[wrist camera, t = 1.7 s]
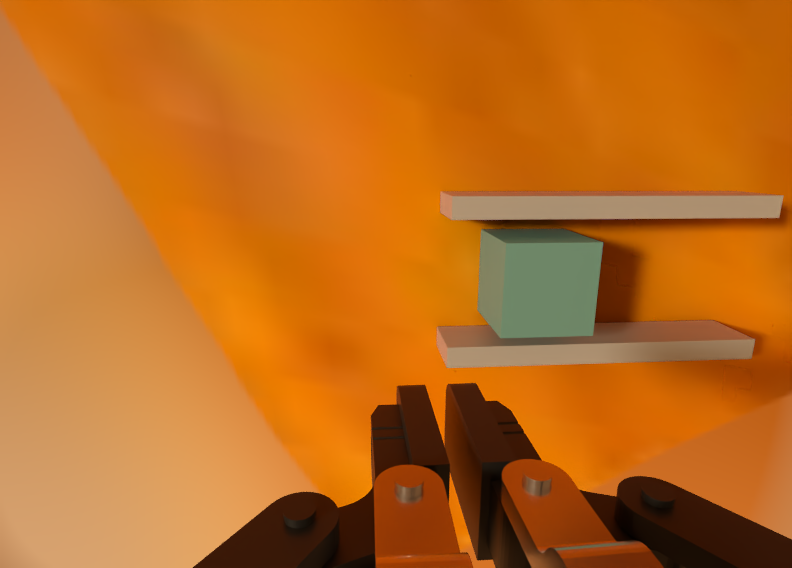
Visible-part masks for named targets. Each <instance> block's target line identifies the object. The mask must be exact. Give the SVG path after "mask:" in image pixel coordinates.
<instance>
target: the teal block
mask: <svg viewBox="0 0 792 568" xmlns="http://www.w3.org/2000/svg"><path fill="white" fill-rule="evenodd" d="M602 249H603V242H601V241H598V240H595V239H592V238H589V237H586V236H583V235H580V234H578V233H575V232H572V231H569V230H566V229H481V247H480V269H479V290H478V311H479V312H480V314H481V315H482V316H483V317H484V319H485V320H486V321H487V322H488V324H489V325H490V326H491V327H492V329H493V330H494V331H495V332H496V333H497V335H498V336H499V337H500V338H533V337H570V336H593V332H594V322H595V313H596V304H597V295H598V286H599V277H600V268H601V258H602Z"/></svg>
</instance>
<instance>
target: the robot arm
mask: <svg viewBox="0 0 792 568" xmlns="http://www.w3.org/2000/svg"><path fill="white" fill-rule="evenodd" d="M371 468H372V485H373V487H372V489H371V491H370V492H369V493H368V494H367V495H366V496H365V497H363V498H362V499H360V500H358V501H356V502H354V503H352V504H349V505H346V506H343V507H339V508H337V506H336V504H335V503H334V502H333V501H332V500H331V499H330V498H329V497H327V496H325V495H322V494H319V493H314V492H299V493H293V494H290V495H287V496H284V497H282V498H280V499H278V500H276V501H275V502H274V503H272V504H271V505H269V506H268V507H267V508H266V509H265V510H263V511H262V512H261V513H260V514H258V515H257V516H256V517H255V518H254V519H252V520H251V521H250V522H248V523H247V524H246V525H245V526H244V527H242V528H241V529H240V530H239V531H237V532H236V533H235V534H234V535H232V536H231V537H230V538H229V539H228V540H226V541H225V542H224V543H223V544H221V545H220V546H219V547H218V548H216V549H215V550H214V551H213V552H211V553H210V554H209V555H208V556H206V557H205V558H204V559H203V560H202V561H200V562H199V563H198V564H197V565H195V566H194V567H193V568H473V566H472V562H471V559H470V556H469V554H468V553H460V550H459V546H458V541H457V537H456V533H455V529H454V524H453V520H452V516H451V512H450V507H449V478H450V473H451V477H452V480H453V483H454V486H455V490H456V493H457V496H458V499H459V503H460V506H461V509H462V513H463V516H464V519H465V522H466V526H467V529H468V532H469V535H470V539H471V542H472V545H473V548H474V552H475V555H476V558H477V560H491V559H493V561H494V564H495V567H496V568H792V540H791V539H789V538H787V537H785V536H783V535H781V534H779V533H776V532H774V531H772V530H770V529H768V528H766V527H764V526H761V525H759V524H757V523H755V522H753V521H751V520H748V519H746V518H744V517H742V516H740V515H738V514H736V513H733V512H731V511H729V510H727V509H725V508H723V507H721V506H719V505H716V504H714V503H712V502H710V501H708V500H706V499H703V498H701V497H699V496H697V495H695V494H692V493H691V492H688V491H686V490H684V489H682V488H680V487H678V486H676V485H673V484H671V483H668V482H666V481H663V480H660V479H656V478H652V477H643V476H635V477H629V478H627V479H624V480H623V481H621V482H620V483H619V485H618V489H617V496H616V497H615V496H609V495H603V494H597V493H591V492H586V491H582V490H579V489H578V488H577V486H576V485H575V484H574V482H573V481H572V479H571V478H570V477H569V475H568V474H567V473H566V472H564V471H563V470H562V469H560V468H559V467H557V466H555V465H553V464H551V463H548V462H545V461H542V460H541V458H540V457H539V455H538V454H537V452H536V450H535V449H534V447H533V445H532V444H531V442H530V441H529V439H528V437H527V436H526V434H524V431H523V429H522V428H521V426H520V425H519V424H518V421H517V420H516V418H515V416H514V415H513V413H512V412H511V410H509V409H508V408H507V407H505V406H504V405H502V404H501V403H499V402H498V401H485V399H484V397H483V395H482V393H481V392H480V390H479V388H478V386H477V384H476V383H465V384H448V385H447V389H446V410H445V447H444V443H443V440H442V437H441V434H440V431H439V428H438V424H437V421H436V418H435V415H434V412H433V408H432V405H431V402H430V399H429V396H428V393H427V389H426V386H425V385H406V386H397V405H378V407H377V408H376V409H375V411H374V412H373V414H372V415H371Z"/></svg>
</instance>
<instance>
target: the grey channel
mask: <svg viewBox="0 0 792 568" xmlns="http://www.w3.org/2000/svg"><path fill="white" fill-rule="evenodd" d="M782 201H783V195H772V194H761V193H749V192H738V191H508V192H441V198H440V213H442V214H443V215H445V216H446V217H448V218H449V219H451V220H526V219H692V218H779V216H780V211H781V206H782ZM754 344H755V339H754V338H751V337H749V336H747V335H745V334H743V333H740V332H738V331H736V330H734V329H732V328H729V327H727V326H725V325H723V324H720V323H718V322H716V321H714V320H695V321H653V322H611V323H594V332H593V336H570V337H533V338H500V337H499V336H498V335H497V333H496V332H495V331H494V330H493V329H492V327H491V326H490V325H484V326H442V327H437V347H438V349H439V351H440V354H441V356H442V358H443V360H444V363H445V365H446V367H447V368H464V367H497V366H529V365H562V364H594V363H627V362H660V361H692V360H725V359H752V354H753V349H754Z"/></svg>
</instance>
